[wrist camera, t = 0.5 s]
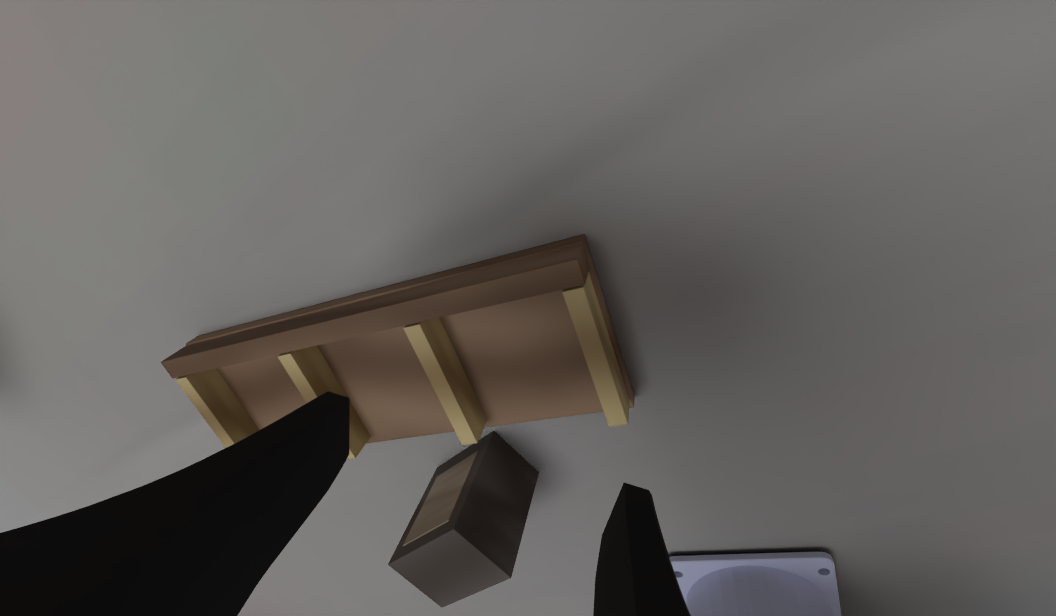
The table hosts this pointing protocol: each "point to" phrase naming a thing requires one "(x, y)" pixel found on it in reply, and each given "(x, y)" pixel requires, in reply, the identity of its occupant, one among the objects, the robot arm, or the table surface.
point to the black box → (468, 522)
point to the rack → (424, 354)
